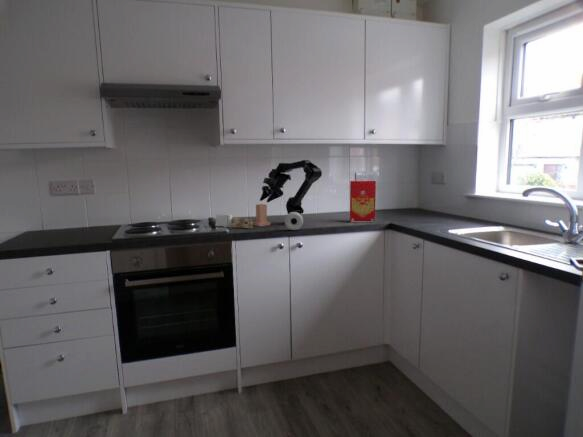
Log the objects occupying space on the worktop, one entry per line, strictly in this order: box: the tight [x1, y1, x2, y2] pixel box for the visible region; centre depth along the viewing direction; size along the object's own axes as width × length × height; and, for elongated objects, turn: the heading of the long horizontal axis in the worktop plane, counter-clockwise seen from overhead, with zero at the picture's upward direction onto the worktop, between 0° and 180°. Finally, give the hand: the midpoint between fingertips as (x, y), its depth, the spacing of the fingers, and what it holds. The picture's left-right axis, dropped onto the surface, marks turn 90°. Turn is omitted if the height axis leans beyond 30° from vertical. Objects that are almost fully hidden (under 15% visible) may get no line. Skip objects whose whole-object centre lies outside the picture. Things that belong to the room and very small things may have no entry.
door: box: [231, 217, 254, 229], centre depth 208 cm, size 12×2×5 cm, turn 68°
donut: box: [284, 212, 304, 231], centre depth 199 cm, size 10×4×10 cm, turn 90°
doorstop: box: [252, 203, 271, 227], centre depth 218 cm, size 8×8×12 cm
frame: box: [215, 213, 233, 228], centre depth 212 cm, size 10×2×7 cm, turn 70°
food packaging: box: [349, 180, 377, 222], centre depth 226 cm, size 15×5×25 cm, turn 85°
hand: (263, 201), depth 221 cm, fingers open, 9 cm apart
